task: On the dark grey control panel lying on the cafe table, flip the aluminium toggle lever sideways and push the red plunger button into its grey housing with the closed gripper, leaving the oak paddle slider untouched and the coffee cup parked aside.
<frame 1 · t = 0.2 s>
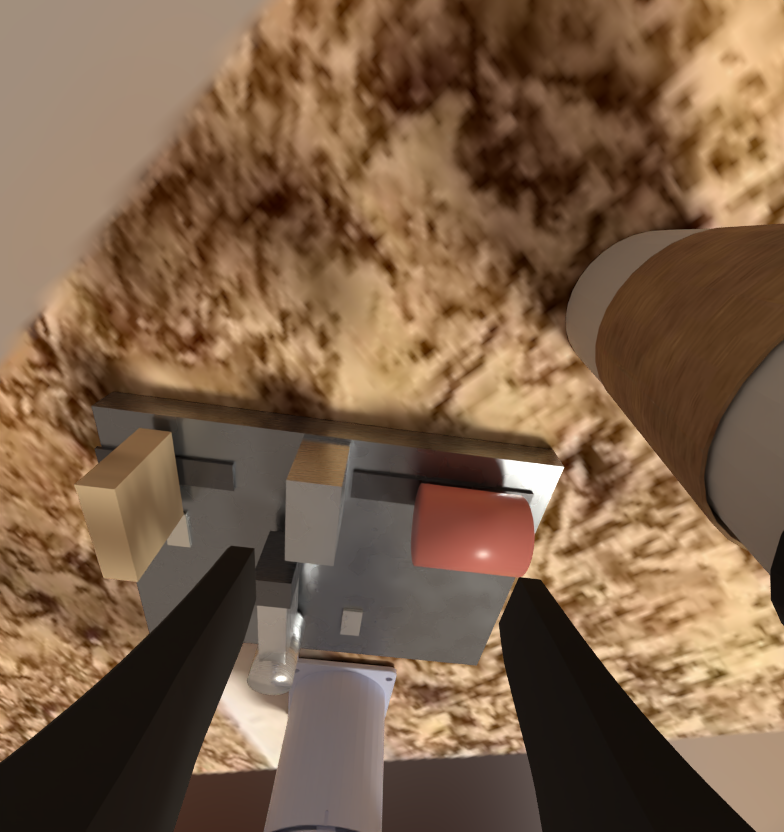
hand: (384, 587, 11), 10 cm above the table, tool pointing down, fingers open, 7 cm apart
plunger: (467, 529, 18), point 4 cm above the table, slide at 0.0 cm
paddle: (138, 502, 17), point 4 cm above the table, slide at 0.0 cm
panel: (328, 542, 23), on the table
coffee cup: (633, 305, 17), on the table
lever: (278, 615, 21), point 4 cm above the table, hinge at 0.0°
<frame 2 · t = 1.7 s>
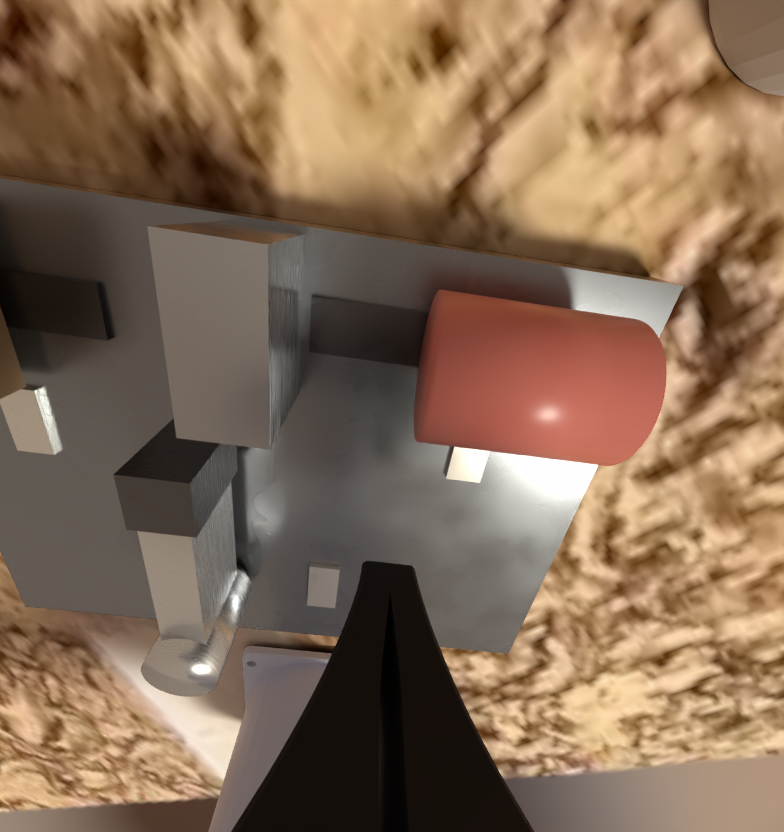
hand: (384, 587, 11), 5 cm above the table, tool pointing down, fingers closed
plunger: (519, 380, 9), point 4 cm above the table, slide at 0.0 cm
panel: (286, 460, 15), on the table
lever: (194, 562, 13), point 4 cm above the table, hinge at 0.0°
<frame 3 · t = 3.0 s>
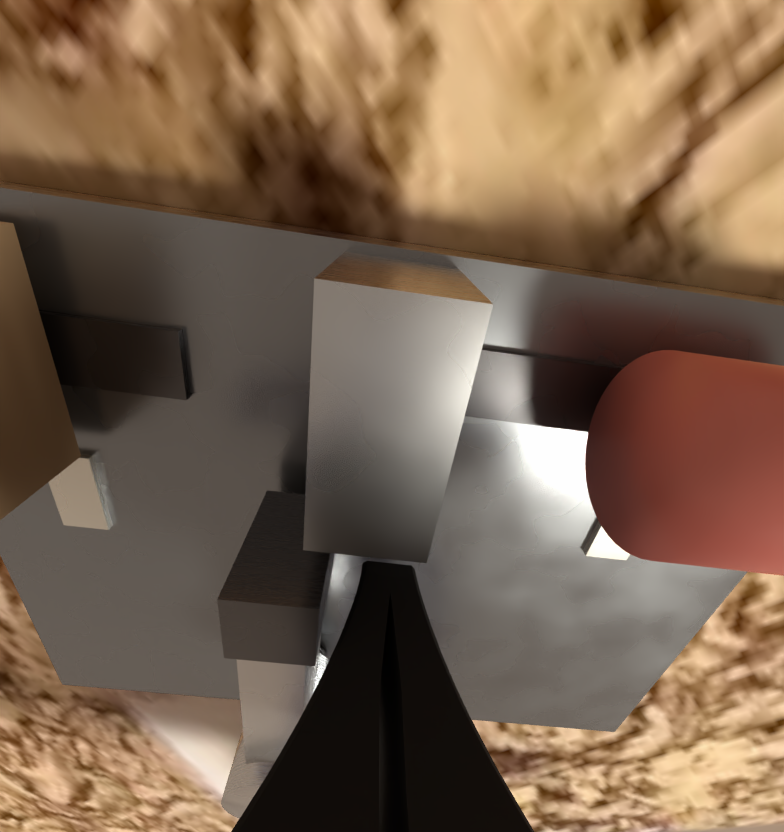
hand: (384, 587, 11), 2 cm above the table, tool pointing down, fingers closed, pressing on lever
plunger: (765, 468, 7), point 4 cm above the table, slide at 0.0 cm
panel: (376, 523, 13), on the table
lever: (285, 667, 10), point 4 cm above the table, hinge at 0.0°, touching gripper
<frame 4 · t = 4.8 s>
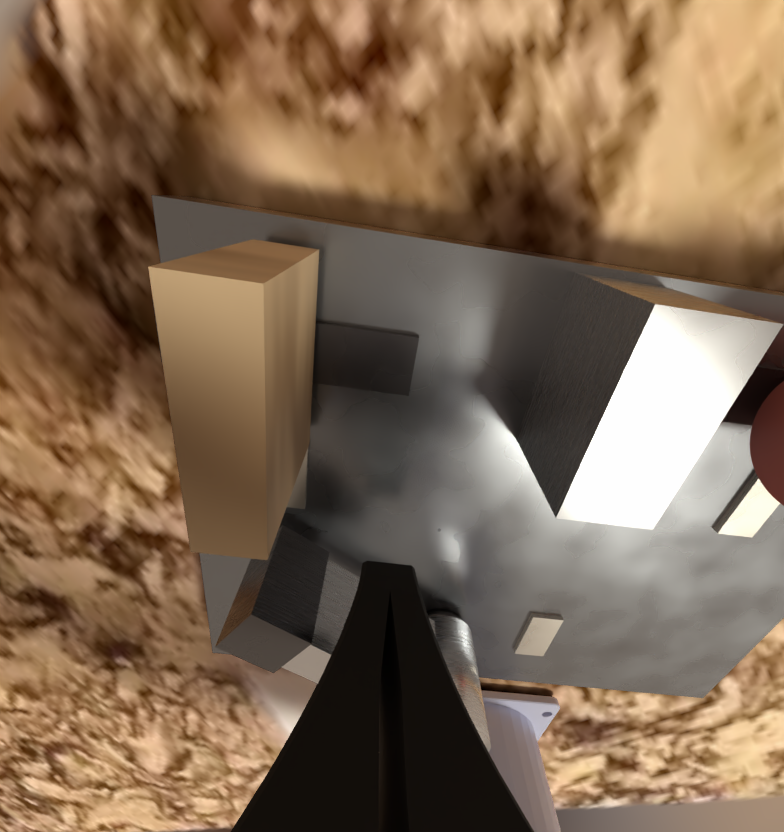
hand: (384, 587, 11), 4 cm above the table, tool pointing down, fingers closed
paddle: (259, 389, 8), point 4 cm above the table, slide at 0.0 cm
panel: (514, 506, 14), on the table
lever: (371, 647, 12), point 4 cm above the table, hinge at 57.2°
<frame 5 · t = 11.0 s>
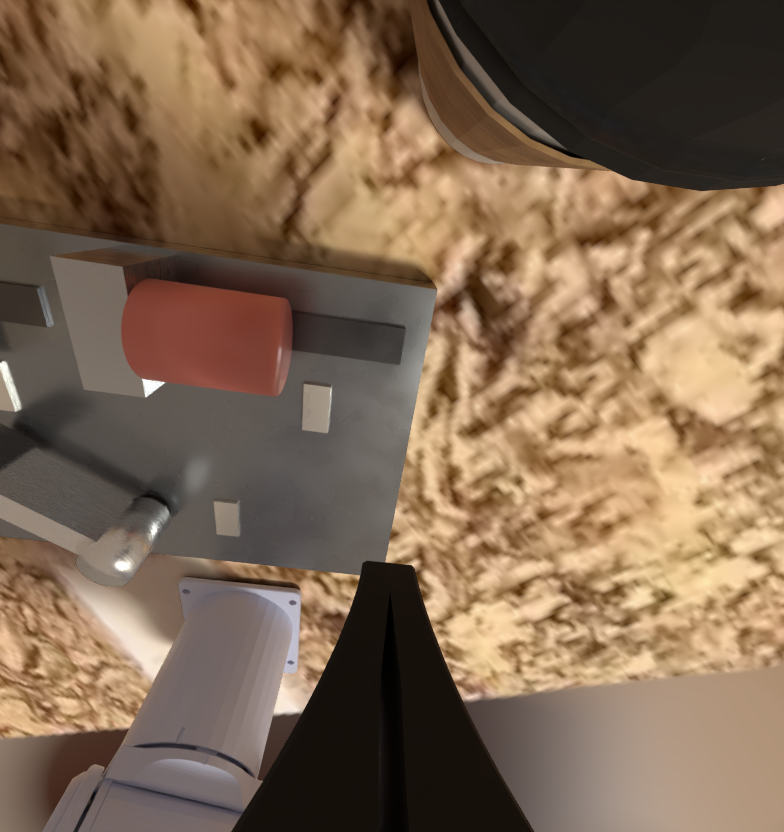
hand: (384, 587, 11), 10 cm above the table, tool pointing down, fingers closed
plunger: (217, 339, 14), point 4 cm above the table, slide at 3.4 cm
panel: (194, 420, 20), on the table
coffee cup: (503, 64, 14), on the table
lever: (61, 506, 18), point 4 cm above the table, hinge at 57.3°
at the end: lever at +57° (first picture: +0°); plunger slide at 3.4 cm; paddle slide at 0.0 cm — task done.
